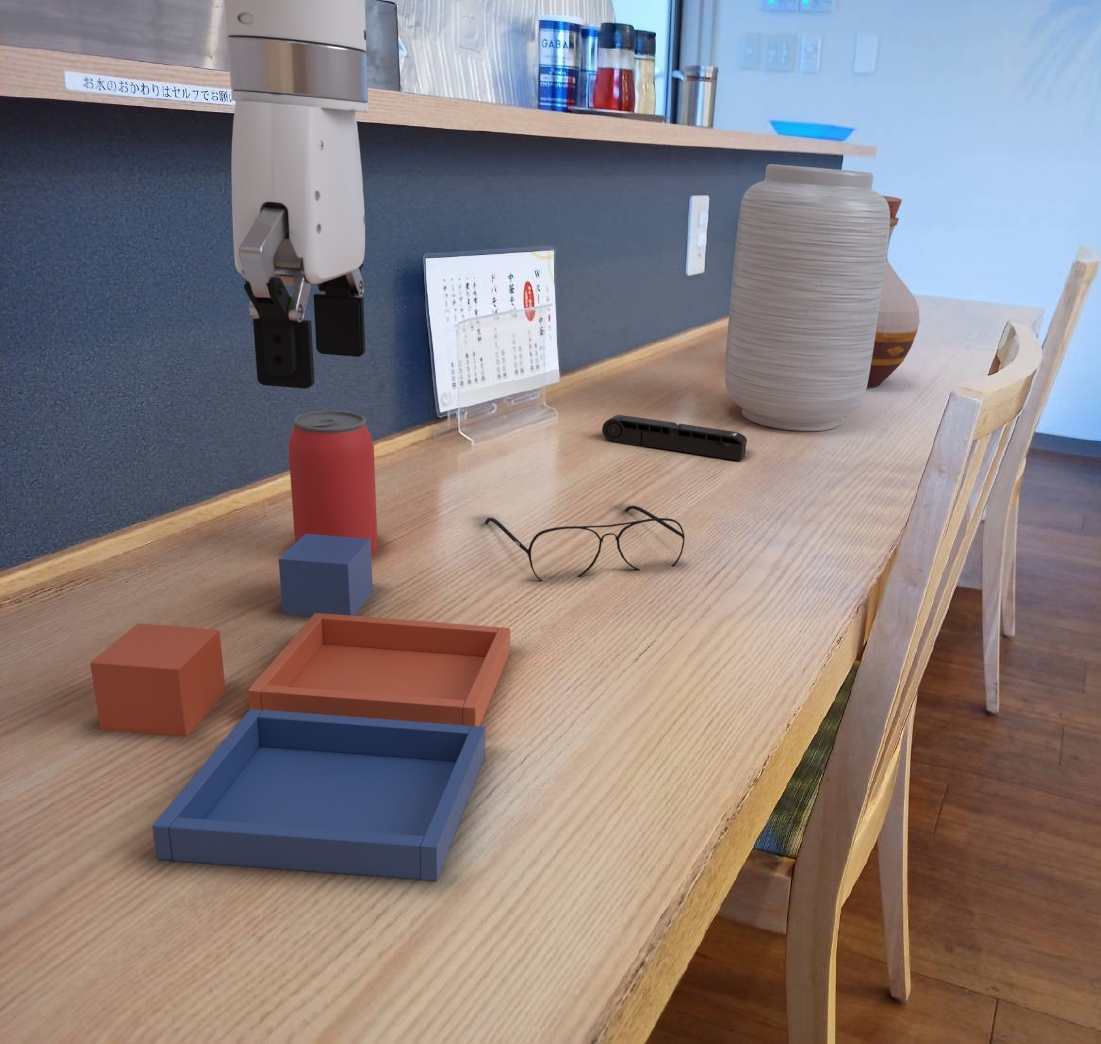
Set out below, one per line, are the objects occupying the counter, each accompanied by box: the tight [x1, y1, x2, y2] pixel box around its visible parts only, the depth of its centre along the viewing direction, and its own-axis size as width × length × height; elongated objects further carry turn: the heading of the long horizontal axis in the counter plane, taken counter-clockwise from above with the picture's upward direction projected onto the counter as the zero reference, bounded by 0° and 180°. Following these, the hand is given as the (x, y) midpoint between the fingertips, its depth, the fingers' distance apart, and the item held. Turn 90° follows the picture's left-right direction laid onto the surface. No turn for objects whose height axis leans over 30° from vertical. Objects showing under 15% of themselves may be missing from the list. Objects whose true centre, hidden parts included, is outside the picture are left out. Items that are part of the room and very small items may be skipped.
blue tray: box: [151, 709, 486, 882], centre depth 53 cm, size 14×11×3 cm
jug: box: [867, 195, 920, 389], centre depth 163 cm, size 20×18×30 cm
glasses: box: [484, 505, 685, 582], centre depth 90 cm, size 14×15×5 cm
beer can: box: [287, 409, 379, 556], centre depth 82 cm, size 7×7×12 cm
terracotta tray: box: [247, 613, 511, 727], centre depth 64 cm, size 14×11×3 cm
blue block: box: [278, 534, 374, 618], centre depth 74 cm, size 5×5×5 cm
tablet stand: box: [601, 414, 748, 461], centre depth 121 cm, size 18×3×3 cm, turn 74°
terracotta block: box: [89, 623, 227, 737], centre depth 59 cm, size 5×5×5 cm
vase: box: [724, 163, 890, 432], centre depth 135 cm, size 20×20×34 cm
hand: (315, 369), depth 64 cm, fingers open, 9 cm apart
